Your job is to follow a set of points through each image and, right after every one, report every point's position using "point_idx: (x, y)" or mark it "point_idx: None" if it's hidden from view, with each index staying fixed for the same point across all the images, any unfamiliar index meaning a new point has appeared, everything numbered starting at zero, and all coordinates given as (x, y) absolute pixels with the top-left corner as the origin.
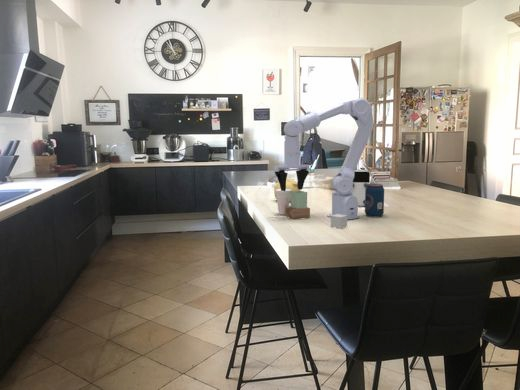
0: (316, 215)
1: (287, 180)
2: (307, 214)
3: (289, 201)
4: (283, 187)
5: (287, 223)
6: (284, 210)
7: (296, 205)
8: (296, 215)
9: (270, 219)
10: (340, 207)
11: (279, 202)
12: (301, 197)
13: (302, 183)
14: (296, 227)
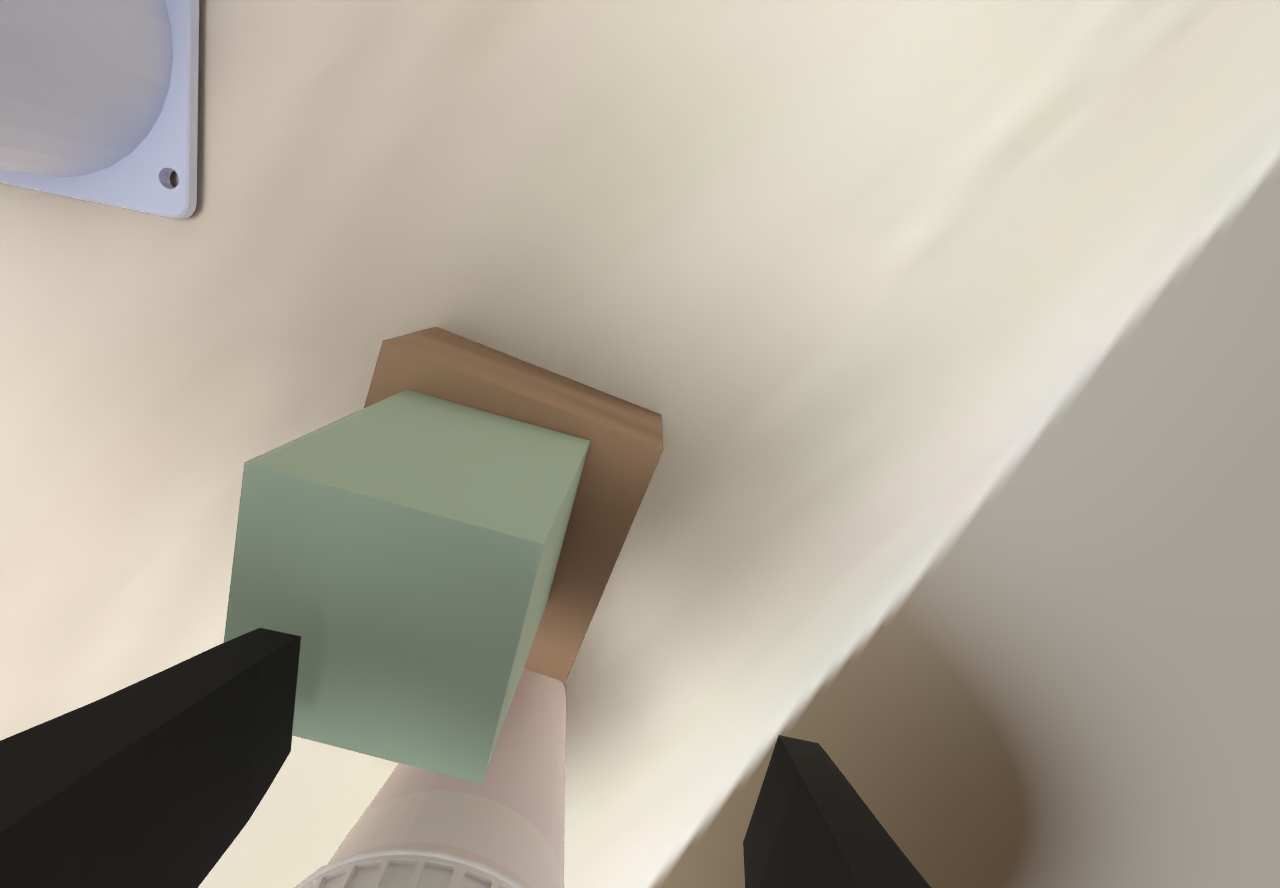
0: (255, 374)
1: None
2: (454, 346)
3: None
4: (862, 823)
5: (893, 299)
6: (535, 688)
7: (582, 462)
8: (613, 408)
9: (841, 599)
10: None
11: (564, 813)
12: (455, 468)
13: (151, 714)
14: (1020, 31)
